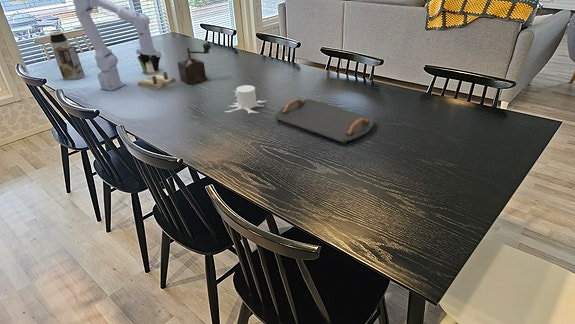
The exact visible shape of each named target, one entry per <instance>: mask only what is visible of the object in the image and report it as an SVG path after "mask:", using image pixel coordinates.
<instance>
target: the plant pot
mask: <svg viewBox="0 0 575 324" xmlns="http://www.w3.org/2000/svg"><path fill="white" fill-rule="evenodd" d="M150 57H152V56H150V55H149V58H150ZM136 58H137V60H138V61H139V63H140V66H141V68H142V70H143V73H145V74H148V72H147V70H146V68H145V66H144V64H143V63H142V61H141V60H140V59H139V58H138V56H137V57H136ZM149 61H150V59H149Z"/></svg>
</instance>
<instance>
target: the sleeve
mask: <svg viewBox="0 0 575 324" xmlns="http://www.w3.org/2000/svg"><path fill="white" fill-rule="evenodd" d="M146 68H147V72H148V73H147V75H151V76H153V75H158V74H159V70H158V71H154V69H153V65H152V63H151V61H149V62H146Z"/></svg>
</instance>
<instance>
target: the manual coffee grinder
mask: <svg viewBox="0 0 575 324" xmlns="http://www.w3.org/2000/svg"><path fill="white" fill-rule="evenodd" d="M202 48H203V51H195V50H194V51H192V50H190V48H189V47H187V48H186V53H187V56H188V58H186V59H184V60H183V61H178V62H177V68H178V74H179V80H180V81H181V82H183V83H184V84H186V85H188V86H190V85H194V84H198V83H201V82H204V81H207V80H208V79H207V76H206V68H205V63H204V62H203V61H202V60H199V59H197V58H193V57H191V54H201V55H202V54H203V55H205V54H206V55H207V54H210V49H211V48H212V46H211V44H210V43H207V42H205V43H203V44H202Z"/></svg>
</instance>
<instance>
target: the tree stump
mask: <svg viewBox="0 0 575 324" xmlns="http://www.w3.org/2000/svg"><path fill="white" fill-rule="evenodd" d="M232 91H233V92H234V93H235V95H234V97H236V99H235V101H237V102H233V104H232V105H229V107H231V108H233V107H235V109H231V110H227V111H224V112H225V113H233V112H234V111H238V110H239V111H240V110H246V111H247V114H250V113H255V114H256V113H257V114H258V111H255V110H253V109H254V108H255V107H263V105H262V103H265V102H266V101H267V99H266V100H260V99H259V100H257V96H256V87H255V86H253V85H251V84H250V85H248V84H245V85H239V86H238V87H236V89H235V90H234V89H233V90H232ZM236 107H237V108H236Z"/></svg>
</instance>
